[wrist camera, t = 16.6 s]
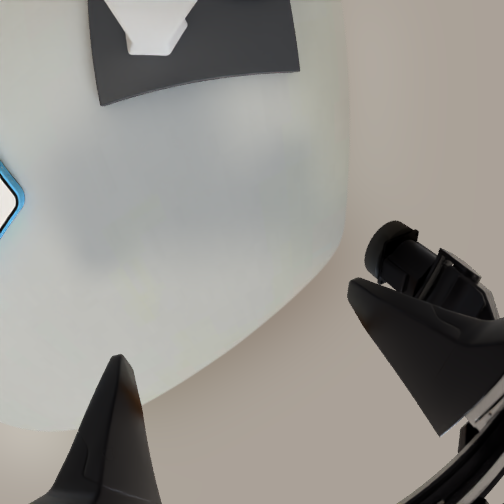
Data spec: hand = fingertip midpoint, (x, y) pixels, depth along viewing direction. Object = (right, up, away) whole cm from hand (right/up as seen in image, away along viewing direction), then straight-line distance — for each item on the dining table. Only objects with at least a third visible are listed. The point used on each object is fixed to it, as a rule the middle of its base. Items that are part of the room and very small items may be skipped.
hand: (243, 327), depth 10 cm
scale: (-4, +18, +2) cm, 19 cm away
